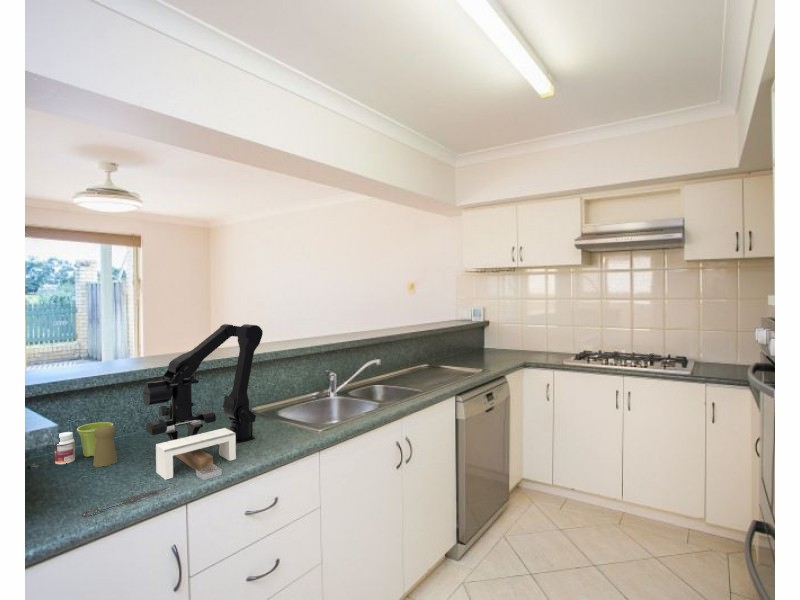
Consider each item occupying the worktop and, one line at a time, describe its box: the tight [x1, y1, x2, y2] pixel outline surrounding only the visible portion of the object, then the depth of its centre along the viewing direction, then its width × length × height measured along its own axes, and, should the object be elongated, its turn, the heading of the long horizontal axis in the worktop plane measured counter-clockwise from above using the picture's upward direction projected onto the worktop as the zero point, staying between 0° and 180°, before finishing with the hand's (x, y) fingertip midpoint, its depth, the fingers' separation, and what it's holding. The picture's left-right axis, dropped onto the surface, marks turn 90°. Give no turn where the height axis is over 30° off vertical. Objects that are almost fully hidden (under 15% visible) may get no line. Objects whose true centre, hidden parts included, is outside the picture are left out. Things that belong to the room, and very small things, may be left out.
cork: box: [92, 425, 118, 468], centre depth 132 cm, size 6×6×11 cm
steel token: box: [195, 463, 223, 481], centre depth 123 cm, size 5×5×2 cm
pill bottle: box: [54, 431, 76, 465], centre depth 133 cm, size 5×5×8 cm
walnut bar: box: [168, 436, 214, 471], centre depth 134 cm, size 4×24×4 cm, turn 47°
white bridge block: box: [155, 427, 237, 481], centre depth 130 cm, size 20×7×8 cm, turn 137°
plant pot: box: [76, 421, 114, 458], centre depth 139 cm, size 9×9×9 cm
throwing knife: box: [81, 486, 174, 518], centre depth 109 cm, size 4×20×1 cm, turn 138°
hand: (182, 449), depth 137 cm, fingers closed on walnut bar, 3 cm apart
